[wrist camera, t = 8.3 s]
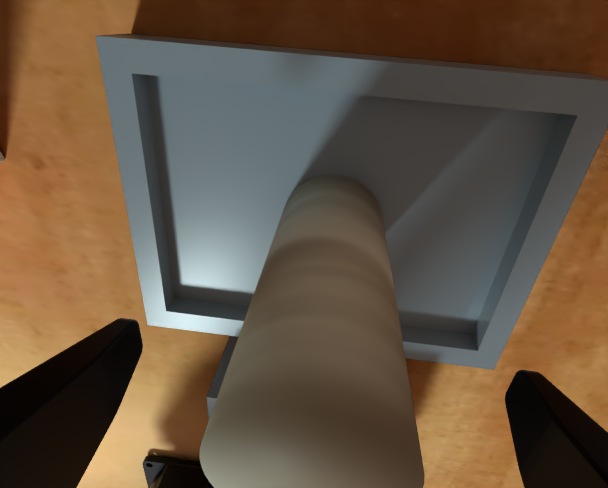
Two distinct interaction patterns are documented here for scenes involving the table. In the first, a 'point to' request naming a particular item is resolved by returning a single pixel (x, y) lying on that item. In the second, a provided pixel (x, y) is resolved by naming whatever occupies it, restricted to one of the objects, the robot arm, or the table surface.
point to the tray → (347, 162)
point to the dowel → (319, 358)
